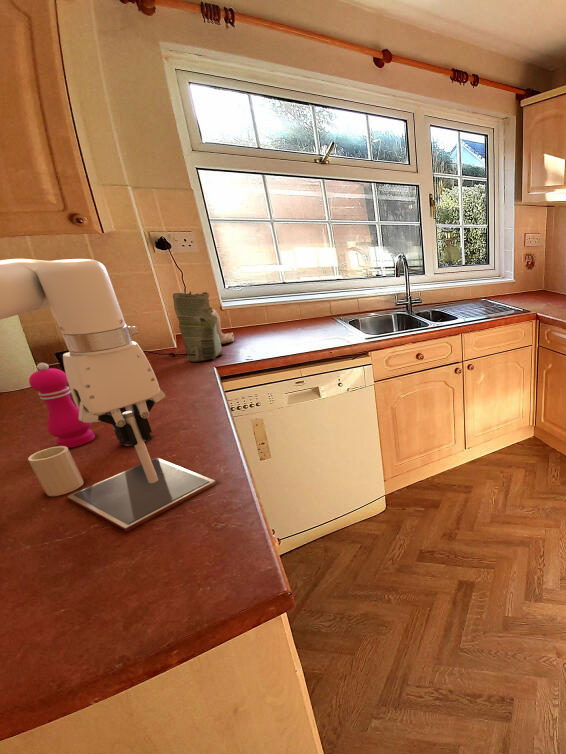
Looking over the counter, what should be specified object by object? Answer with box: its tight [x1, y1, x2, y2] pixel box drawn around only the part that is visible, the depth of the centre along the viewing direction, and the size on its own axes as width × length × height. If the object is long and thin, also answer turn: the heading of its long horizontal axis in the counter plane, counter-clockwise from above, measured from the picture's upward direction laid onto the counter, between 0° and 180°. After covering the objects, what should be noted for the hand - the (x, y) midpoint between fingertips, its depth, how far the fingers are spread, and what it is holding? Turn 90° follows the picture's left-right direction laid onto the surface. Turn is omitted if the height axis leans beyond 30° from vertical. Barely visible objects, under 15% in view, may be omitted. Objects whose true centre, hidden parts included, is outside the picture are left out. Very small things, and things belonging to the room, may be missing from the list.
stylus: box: [122, 411, 158, 483], centre depth 75 cm, size 1×1×14 cm
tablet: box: [66, 456, 217, 533], centre depth 82 cm, size 15×21×1 cm
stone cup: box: [211, 308, 235, 345], centre depth 172 cm, size 15×12×15 cm
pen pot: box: [27, 445, 85, 497], centre depth 82 cm, size 5×5×8 cm
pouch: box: [172, 291, 224, 363], centre depth 154 cm, size 11×12×25 cm
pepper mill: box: [28, 362, 96, 449], centre depth 97 cm, size 7×7×20 cm
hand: (137, 440), depth 74 cm, fingers closed on stylus, 1 cm apart
